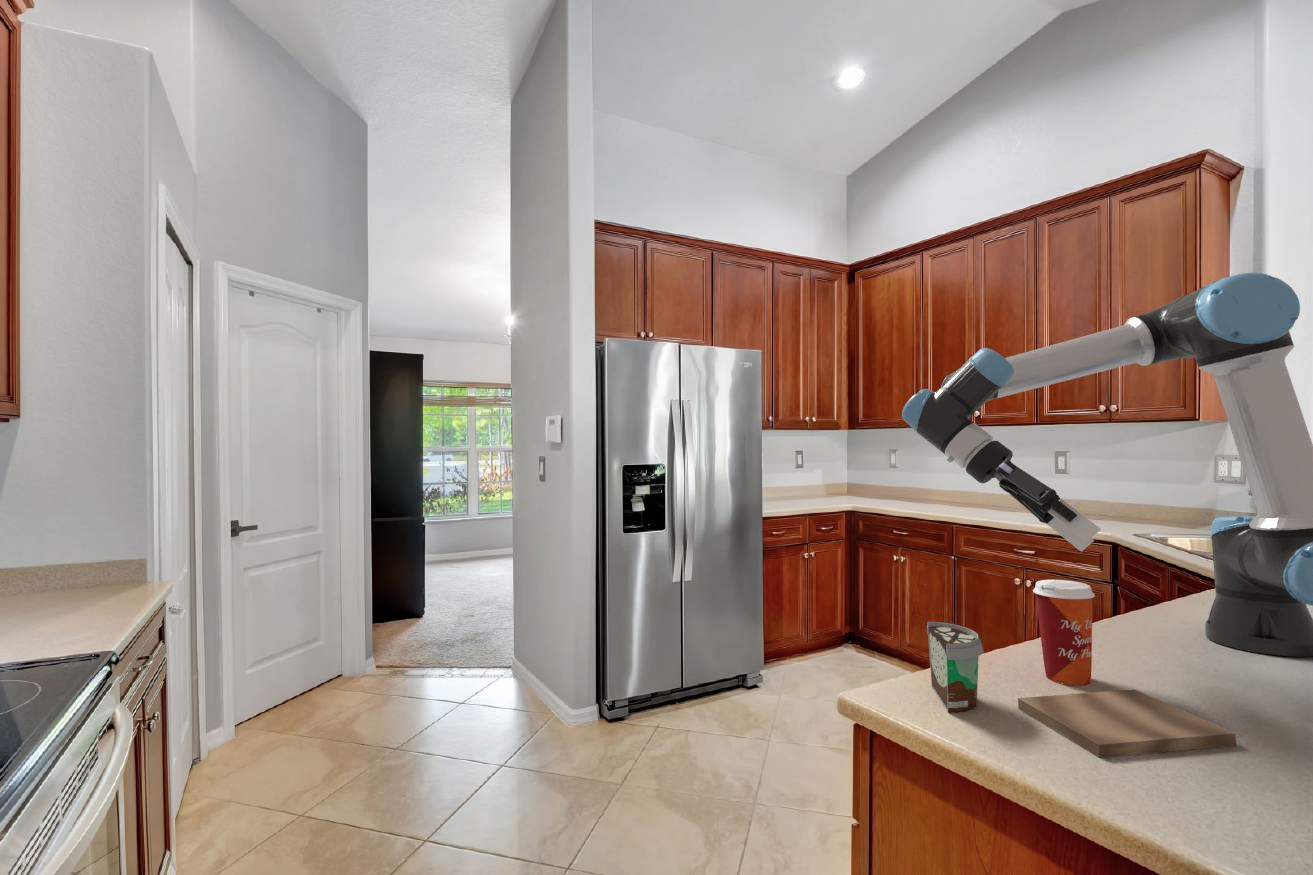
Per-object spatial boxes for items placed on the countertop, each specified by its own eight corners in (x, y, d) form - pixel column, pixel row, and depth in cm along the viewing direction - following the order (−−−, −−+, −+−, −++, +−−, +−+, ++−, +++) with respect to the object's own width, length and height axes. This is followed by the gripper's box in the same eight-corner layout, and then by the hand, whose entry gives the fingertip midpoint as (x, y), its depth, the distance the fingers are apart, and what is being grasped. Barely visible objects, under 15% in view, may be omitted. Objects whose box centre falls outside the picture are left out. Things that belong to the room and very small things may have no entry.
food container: (999, 719, 83) (995, 646, 83) (950, 717, 84) (947, 644, 84) (971, 685, 95) (968, 621, 95) (929, 684, 96) (926, 620, 96)
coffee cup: (1078, 692, 91) (1072, 592, 91) (1025, 675, 98) (1020, 582, 99) (1112, 682, 94) (1107, 585, 94) (1059, 666, 102) (1054, 576, 102)
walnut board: (1135, 699, 87) (1134, 689, 87) (1236, 745, 74) (1235, 733, 74) (1018, 708, 86) (1017, 697, 86) (1099, 757, 72) (1098, 744, 72)
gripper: (970, 483, 119) (1069, 564, 107) (955, 452, 99) (1075, 548, 87) (999, 456, 117) (1102, 535, 106) (990, 419, 97) (1117, 511, 85)
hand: (1090, 541), depth 96 cm, fingers open, 13 cm apart
